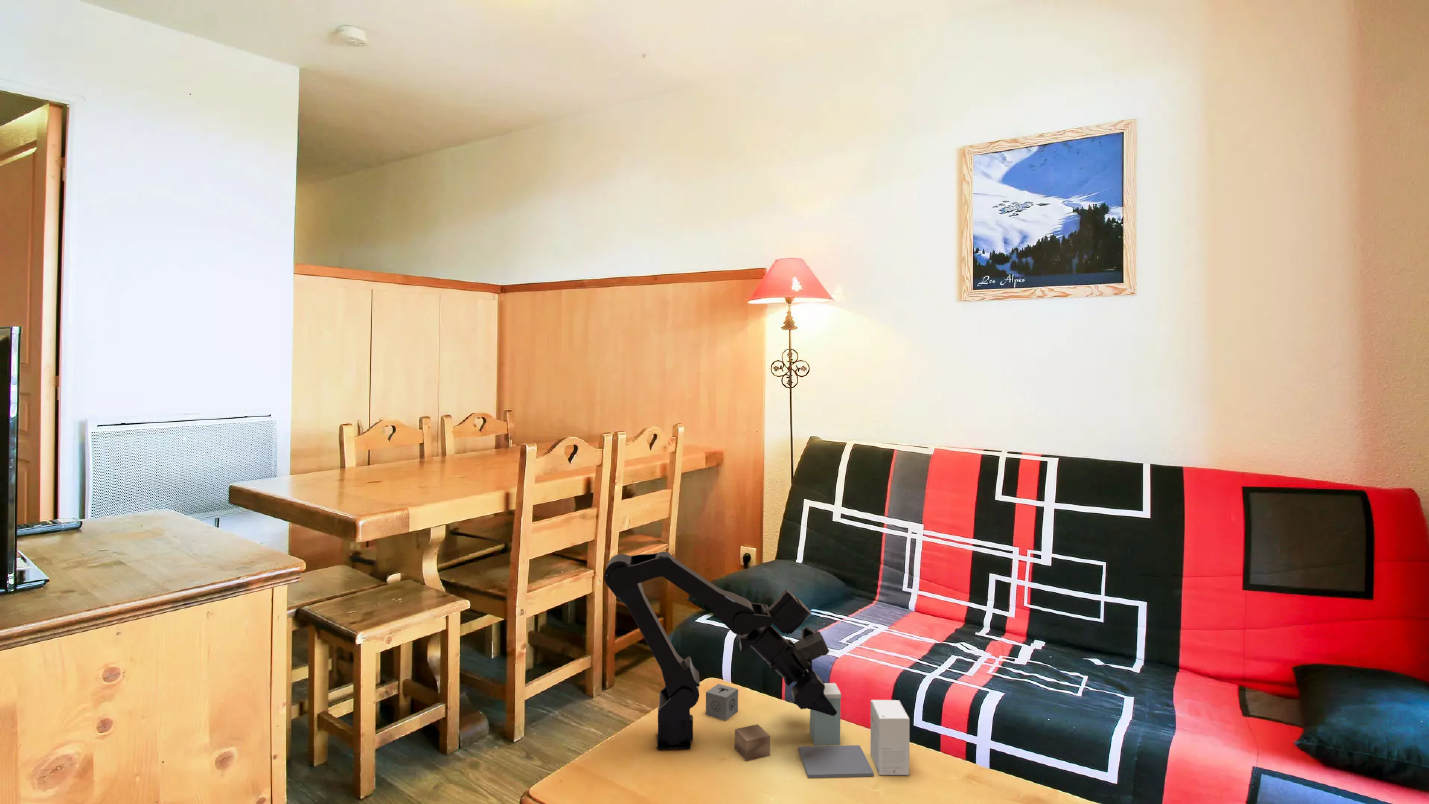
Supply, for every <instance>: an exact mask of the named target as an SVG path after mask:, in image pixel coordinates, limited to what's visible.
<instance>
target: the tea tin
mask: <svg viewBox="0 0 1429 804" xmlns="http://www.w3.org/2000/svg"><path fill="white" fill-rule="evenodd" d="M823 683H824V682H823ZM824 685H825V689H824V694H825V695H826V697H827V698H828V700H829V701H830V702H831V704H832V705H833V707H834V708H835V710H836V711H837V714H836V715H835V716H831V715H828V714H824V713H821V712H818V711H815V710H811V709H809V734H810V737H811V740H812V742H813V745H814V746H841V709H842V708H841V705H842V704H841V701H842V700H841V699H842V693H841V691H840V689H839V687H838V686H837V683H836V682H825V683H824Z"/></svg>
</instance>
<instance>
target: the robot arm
mask: <svg viewBox="0 0 1429 804" xmlns="http://www.w3.org/2000/svg"><path fill="white" fill-rule="evenodd" d="M661 577H663V578H664V579H666V580H667V581H669V582H670V583H672V584H673V585H674V586H676V587H677V588H678V589H680V590H681V591H683V592H685V593H687V594H688V595H690V596H691V597H693V598H694V599H695V600H696V601H698V602H700V603H701V604H703V605H704V606H706V607H707V608H709V609H710V611H711V612H712V613H714V614H715V616H716V617H717V618H718V620H719V621H721V623H722V624H724V626H726V627H727V629H729V630H730V631H731V633H733V634H734V635H737V636H738V639H739V649H740V652H741V654H744V653H745V652H746V651H748V649H749V648H750V647H751V648H752V649H753V650H754V651H755V652H756V653H757V654H758V656H760V657H761V658H762V659H763V660H764V661H765V662H766V664H768V666H769V668H770V669H771V671H772V672H775V671H776V673H777V674H778V675H779V676H781V677H782V678H783V680H784V683H785V684H786V685H787V686H788V687H789V686H791V684H792V683H795V684H794V685H793V686H792V687H791V694H790V695H791V697H792V698H791V699H792V700H793V703H794V705H796V706H797V707H798V708H799V710H803V709H804V710H806V709H807V710H810V709H811V710H815V711H818V712H821V713H824V714H828V715H831V716H835V715H836V714H837V711H836V710H835V708H834V707H833V705H832V704H831V702H830V701H829V700H828V698H827V697H826V695H825V694H824V689H825V685H824V682H823V679H822V678H821V677H820V676H819V675H818V674H817V673H816V672H815V671H814V670H813V661H814V660H816V659H818V658H820V657H822V656H826V655H829V653H830V650H829V647H828V645H827V643H826V641H825V639H824V637H823V635H822V633H821V632H820V631H819V630H817V629H815V630H813V629H812V628H810V627H809V626H806V627H804V628H802V629H801V635H800V637H798V640H797V641H795V642H794V641H792V640H791V639H790V638H789V639H788V638H785V637H784V636H783V635H785V634H786V635H789V634H791V635H793V633H794V632H796V630H797V629H798V628H799V627H800V626H801V625H802V624H803V623H805V621H806V620H808V618H809V617H811V616H812V612H811V611H810V609H809V608H808V607H807V606H806V605H805V603H804V602H803V601H802V600H801V599H799V597H797V596H795V595H794V594H793V593H792V592H790V591H789V590H788V589H784V590H783V592H781V594H780V595H779V597H778V598H777V599H776V600H775V601H774V602H773V603H772V604H770V606H768V605H767V604H764V603H756V602H751V601H750V600H748V598H745V597H743V596H740V595H738V594H737V593H734V592H731V591H727V590H724V589H722V588H720V587H718V586H717V585H715V584H713V583H712V582H710V581H709V580H707V578H705V577H703V576H702V575H700V574H699V573H697V572H695V570H693V569H691V568H690V567H689V566H686V565H685V563H683V562H681V561H680V560H678V559H676V558H675V557H674V555H672V554H671V553H670V552H668V551H658V552H655V553H641V554H640V553H638V554H634V555H628V554H625V553H618V554H615V555H613V556H612V557H611V558H610V559H609V561H608V562H607V565H606V568H605V570H604V574H603V579H604V582H605V584H606V586H607V587H608V589H609V590H610V591H611V592H612V593H613V595H614V596H615V597H616V598H617V599H618V600H619V601H620V602H621V603H622V604H623V605H624V606H625V607H626V608H627V610H628V611H629V613H630V615H631V617H632V619H633V620H634V622H635V624H636V626H637V627H638V630H639V632H640V633H641V635H642V637H643V639H644V640H645V642H646V644H647V646H648V648H649V650H650V652H651V653H652V655H653V657H654V659H655V660H656V662H657V665H658V666H659V668H660V670H661V674H662V678H663V682H664V687H663V688H662V689H661V690H660V691H659V695H658V696H659V699H658V707H657V737H656V749H657V750H660V751H662V750H663V751H664V750H689V749H691V742H693V741H694V719H693V718H694V717H693V714H691V709H692V708H693V707H695V706H696V704H697V703H698V702H699V699H700V687H701V685H700V674H699V673H700V672H699V671H698V670H697V668H696V667H695V666H694V664H693V662H692V658H691V656H690V655H689V656H687V657H686V658H685V659H684V658H683V657H681V656H680V655H679V654H678V652H677V651H676V649H675V647H674V646H673V644H672V642H671V639H670V638H669V636H668V634H667V632H666V630H665V629H664V627H663V626H662V624H661V622H660V620H659V618H658V616H657V614H656V613H655V610H654V609H653V607H652V605H651V603H650V601H649V600H648V597H647V596H646V594H645V592H644V591H645V590H644V587H643V583H645V582H648V581H650V580H653V579H656V578H661ZM774 626H775V628H774ZM778 631H779V632H778ZM781 633H782V634H783V635H782V634H781Z"/></svg>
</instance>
